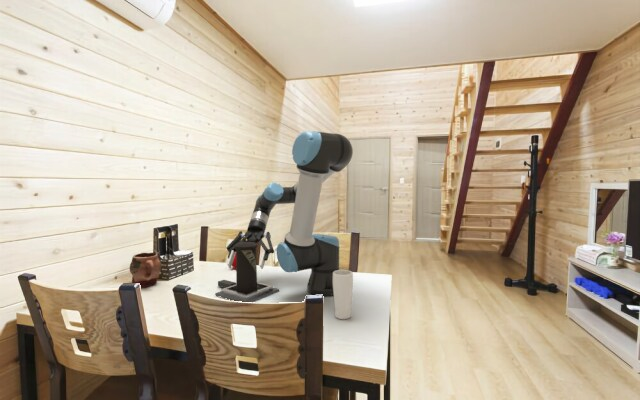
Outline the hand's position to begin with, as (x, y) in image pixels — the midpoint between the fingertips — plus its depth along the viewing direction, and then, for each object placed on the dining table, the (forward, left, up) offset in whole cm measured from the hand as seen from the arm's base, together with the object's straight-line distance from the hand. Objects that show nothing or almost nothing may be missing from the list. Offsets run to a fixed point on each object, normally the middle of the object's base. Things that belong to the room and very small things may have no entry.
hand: (244, 266), depth 128 cm
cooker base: (+5, -2, -12) cm, 13 cm away
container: (+1, -2, -11) cm, 11 cm away
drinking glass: (-43, -4, -12) cm, 45 cm away
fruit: (+35, -27, -12) cm, 46 cm away
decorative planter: (+47, +16, -12) cm, 51 cm away
